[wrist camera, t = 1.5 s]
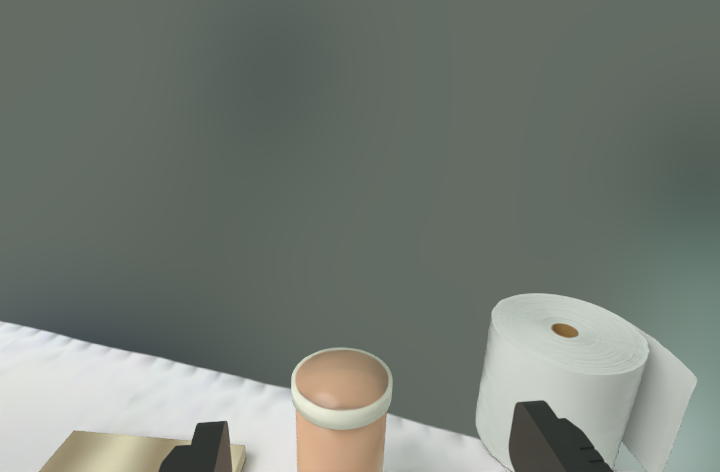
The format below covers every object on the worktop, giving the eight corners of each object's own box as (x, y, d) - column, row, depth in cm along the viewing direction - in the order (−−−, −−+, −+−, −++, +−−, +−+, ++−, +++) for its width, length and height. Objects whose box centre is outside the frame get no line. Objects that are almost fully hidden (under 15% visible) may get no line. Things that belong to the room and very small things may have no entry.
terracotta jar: (286, 572, 27) (280, 409, 23) (304, 491, 32) (302, 344, 28) (379, 582, 27) (391, 418, 23) (382, 498, 32) (393, 351, 28)
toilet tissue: (468, 383, 43) (482, 287, 40) (603, 397, 42) (630, 299, 39) (483, 481, 34) (504, 366, 30) (660, 502, 32) (704, 385, 29)
